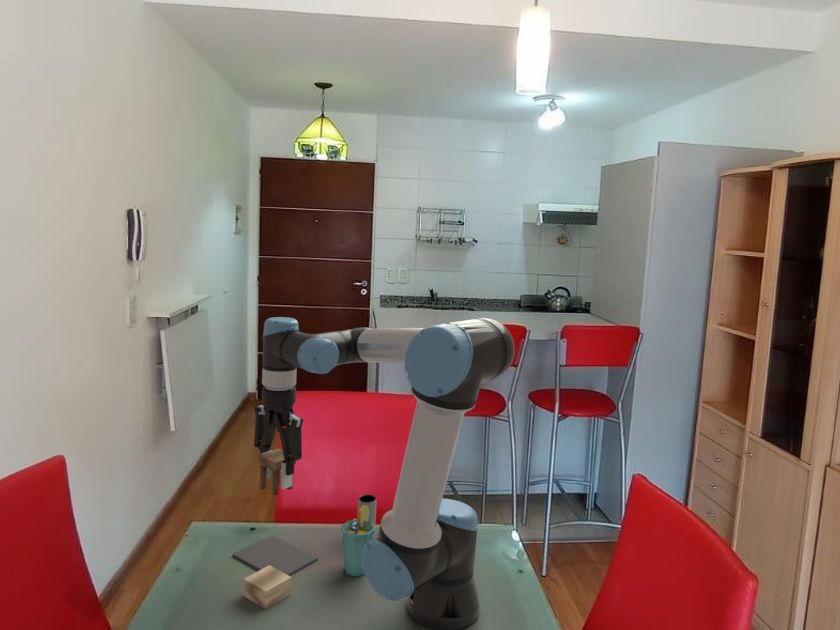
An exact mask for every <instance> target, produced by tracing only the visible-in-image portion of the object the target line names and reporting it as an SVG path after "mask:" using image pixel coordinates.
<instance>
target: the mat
mask: <svg viewBox="0 0 840 630" xmlns="http://www.w3.org/2000/svg"><path fill="white" fill-rule="evenodd" d="M232 557H234V558H235V559H237V560H239V561H241V562H242V563H244V564H246V565H249V566H250V567H252V568H254V569H255V570H257V571H259V570H261V569H263V568H265V567H267V566H269V565H270V566H272V567H274V568H276V569H277V570H279V571H281V572H283V573H285V574H287V575H288V576H290V577H291V576H292V575H294V574H296V573H297V572H299V571H301V570H302V569H304V568H306V567H308V566H310V565H312V564H313V563H315V562H317V561H318V560H319V557H317V556H315V555H314V554H312V553H309V552H308V551H306V550H303V549H302V548H299V547H298V546H296V545H294V544H291V543H290V542H288V541H285V540H284V539H282V538H280V537H278V536H275V534H274V535H273V534H271V535H269V536H267V537H265V538H263V539H260V540H258V541H257V542H254V543H251V544H250V545H248V546H245V547H244V548H242V549H239V550H238V551H236V552H233V553H232Z"/></svg>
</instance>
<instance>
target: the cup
mask: <svg viewBox="0 0 840 630" xmlns="http://www.w3.org/2000/svg"><path fill="white" fill-rule="evenodd" d="M368 518H369V507H368V506H367V505H362V507H361V509H360V511H359V514H358V513H357V518H353V519H350V520H347V521H346V522H345V523H343V524H342V525H341V527H340V529H341V533H342V543H343V560H344V561H343V567H344V571H345V574H346V575H349V576H352V577H359V576H360V577H361V576H364V575H365V574H364V571H363V568H362V562H361V554H362V550H363V548H364V546H365V545H366V544H367V543H368V542H369V541H370V540H372V537H373V534H374V531H375V532H376V527H375V528H374V526H373V524H372V523H371V522H368Z"/></svg>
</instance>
